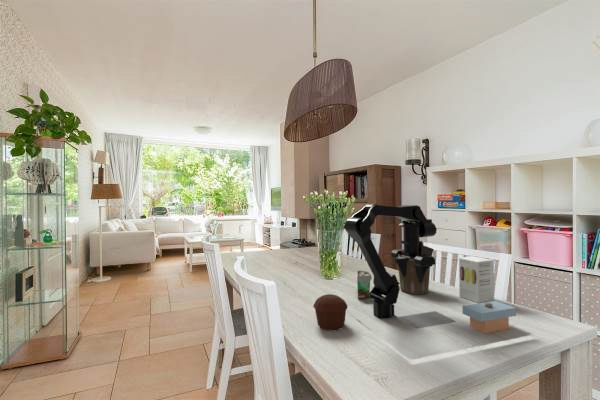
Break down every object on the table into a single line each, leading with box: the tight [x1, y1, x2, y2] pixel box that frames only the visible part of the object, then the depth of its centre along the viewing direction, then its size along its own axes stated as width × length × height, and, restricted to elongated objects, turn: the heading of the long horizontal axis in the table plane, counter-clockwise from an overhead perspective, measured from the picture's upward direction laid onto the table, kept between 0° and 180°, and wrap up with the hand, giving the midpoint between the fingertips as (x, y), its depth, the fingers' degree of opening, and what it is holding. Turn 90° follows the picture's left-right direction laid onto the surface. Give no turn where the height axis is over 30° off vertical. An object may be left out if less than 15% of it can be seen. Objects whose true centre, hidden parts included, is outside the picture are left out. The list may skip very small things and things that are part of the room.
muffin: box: [313, 293, 348, 331], centre depth 103 cm, size 12×11×10 cm
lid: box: [461, 300, 517, 322], centre depth 97 cm, size 14×7×4 cm, turn 107°
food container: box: [356, 270, 373, 300], centre depth 133 cm, size 12×6×10 cm, turn 168°
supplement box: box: [458, 255, 495, 304], centre depth 127 cm, size 10×9×17 cm
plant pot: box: [397, 255, 432, 295], centre depth 139 cm, size 16×16×16 cm
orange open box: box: [469, 317, 510, 334], centre depth 97 cm, size 10×6×5 cm, turn 107°
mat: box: [398, 310, 457, 329], centre depth 104 cm, size 16×10×1 cm, turn 107°
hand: (412, 279), depth 114 cm, fingers open, 9 cm apart
